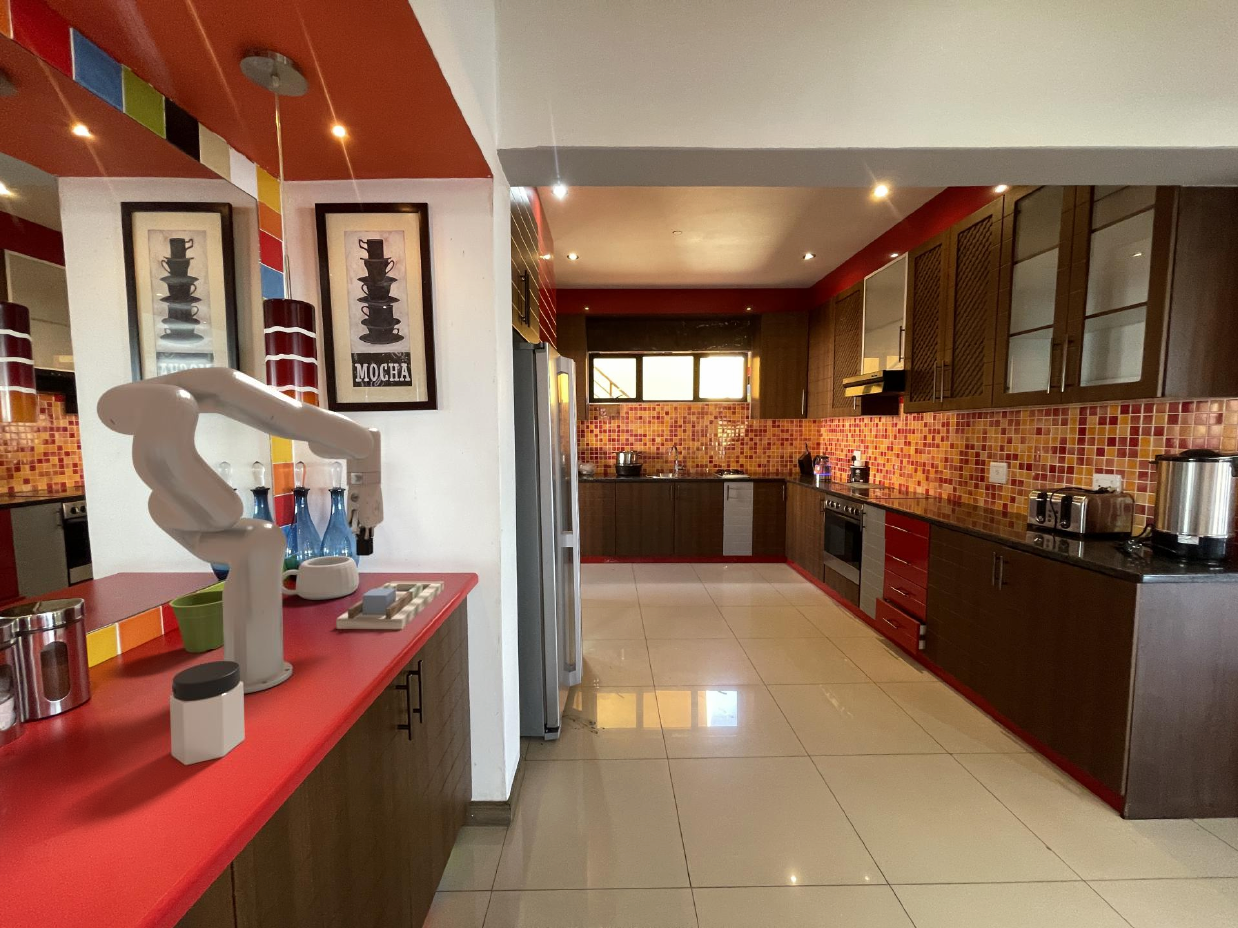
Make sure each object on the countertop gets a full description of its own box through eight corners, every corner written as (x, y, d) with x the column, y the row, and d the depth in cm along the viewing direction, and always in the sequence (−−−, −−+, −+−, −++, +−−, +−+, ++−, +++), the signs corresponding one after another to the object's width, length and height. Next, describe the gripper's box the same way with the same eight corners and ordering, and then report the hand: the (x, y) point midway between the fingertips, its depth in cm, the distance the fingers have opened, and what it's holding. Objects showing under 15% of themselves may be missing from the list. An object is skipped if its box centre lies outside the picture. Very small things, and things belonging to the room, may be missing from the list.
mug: (351, 582, 173) (351, 552, 172) (365, 595, 160) (365, 562, 159) (273, 594, 159) (272, 561, 158) (281, 609, 146) (280, 573, 146)
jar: (205, 731, 86) (203, 658, 86) (255, 732, 86) (253, 659, 86) (157, 765, 77) (154, 684, 77) (212, 766, 77) (210, 685, 77)
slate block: (386, 614, 135) (386, 595, 135) (362, 614, 135) (362, 595, 135) (395, 607, 141) (395, 588, 141) (372, 607, 141) (372, 588, 141)
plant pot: (178, 642, 122) (177, 593, 122) (241, 633, 128) (240, 587, 127) (163, 661, 112) (161, 609, 111) (232, 652, 117) (231, 601, 117)
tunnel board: (401, 628, 132) (401, 609, 132) (336, 628, 132) (336, 608, 132) (443, 589, 166) (443, 573, 166) (392, 588, 166) (391, 573, 166)
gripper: (365, 482, 121) (366, 562, 122) (392, 476, 136) (393, 548, 137) (331, 481, 121) (333, 562, 122) (362, 476, 136) (363, 547, 137)
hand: (364, 554), depth 129 cm, fingers closed
